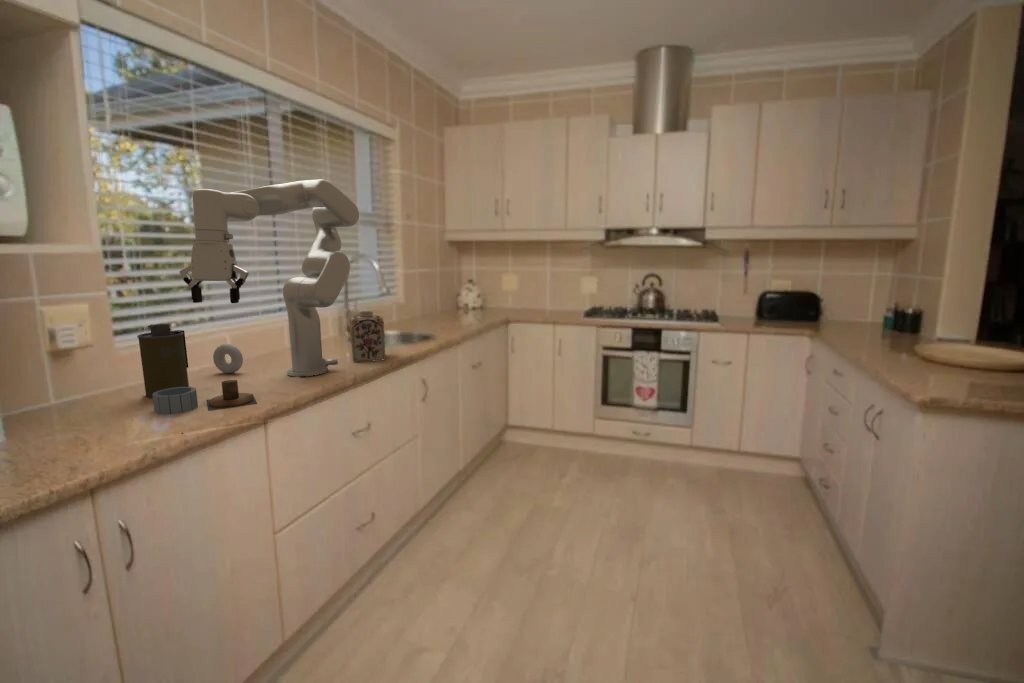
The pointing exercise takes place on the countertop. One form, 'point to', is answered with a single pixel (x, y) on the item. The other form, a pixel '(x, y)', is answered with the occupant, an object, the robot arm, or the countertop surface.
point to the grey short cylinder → (175, 400)
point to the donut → (221, 362)
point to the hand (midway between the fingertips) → (216, 302)
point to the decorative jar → (367, 337)
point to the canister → (163, 358)
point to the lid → (230, 396)
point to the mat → (229, 407)
